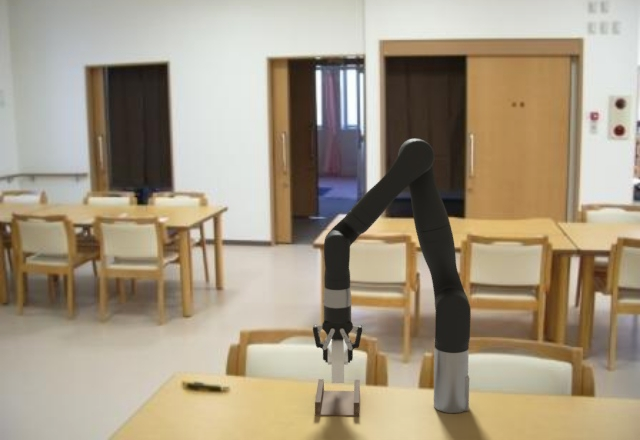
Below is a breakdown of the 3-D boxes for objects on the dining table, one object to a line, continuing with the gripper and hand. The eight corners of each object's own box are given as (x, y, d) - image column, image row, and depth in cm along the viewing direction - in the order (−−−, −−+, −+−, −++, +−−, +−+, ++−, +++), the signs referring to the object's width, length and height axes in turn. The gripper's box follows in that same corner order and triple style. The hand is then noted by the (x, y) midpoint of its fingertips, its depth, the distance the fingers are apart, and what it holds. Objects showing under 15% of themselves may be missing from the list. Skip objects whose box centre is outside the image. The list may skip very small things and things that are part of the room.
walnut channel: (359, 392, 211) (359, 379, 210) (359, 416, 195) (359, 402, 195) (318, 391, 212) (318, 379, 211) (315, 415, 196) (314, 402, 195)
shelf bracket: (346, 352, 216) (346, 315, 211) (348, 403, 193) (348, 363, 188) (328, 352, 216) (328, 315, 211) (327, 403, 193) (327, 363, 188)
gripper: (363, 299, 201) (363, 357, 204) (312, 298, 202) (312, 356, 204) (363, 307, 193) (363, 367, 196) (310, 306, 194) (311, 366, 197)
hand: (337, 361), depth 200 cm, fingers closed on shelf bracket, 5 cm apart
